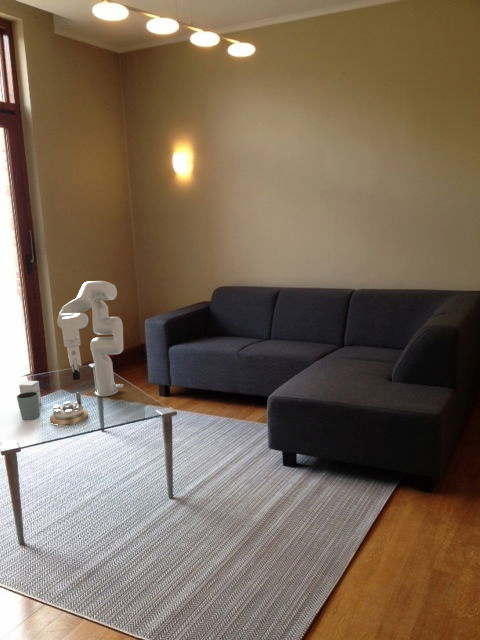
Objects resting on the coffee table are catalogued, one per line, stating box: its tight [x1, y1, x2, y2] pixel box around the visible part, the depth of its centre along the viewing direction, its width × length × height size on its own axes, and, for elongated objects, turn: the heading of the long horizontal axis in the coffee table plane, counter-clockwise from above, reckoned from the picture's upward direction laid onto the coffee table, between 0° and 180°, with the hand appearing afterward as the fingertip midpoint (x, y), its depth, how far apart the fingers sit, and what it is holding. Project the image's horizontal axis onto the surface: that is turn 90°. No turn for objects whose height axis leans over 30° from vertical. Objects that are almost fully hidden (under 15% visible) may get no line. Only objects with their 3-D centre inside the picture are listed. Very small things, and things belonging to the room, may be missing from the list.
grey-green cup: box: [16, 392, 41, 421], centre depth 289 cm, size 10×10×12 cm
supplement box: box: [18, 380, 42, 405], centre depth 306 cm, size 7×7×13 cm
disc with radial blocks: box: [52, 391, 84, 420], centre depth 283 cm, size 14×14×10 cm
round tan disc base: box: [49, 408, 89, 426], centre depth 285 cm, size 18×18×3 cm
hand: (76, 379), depth 277 cm, fingers closed
